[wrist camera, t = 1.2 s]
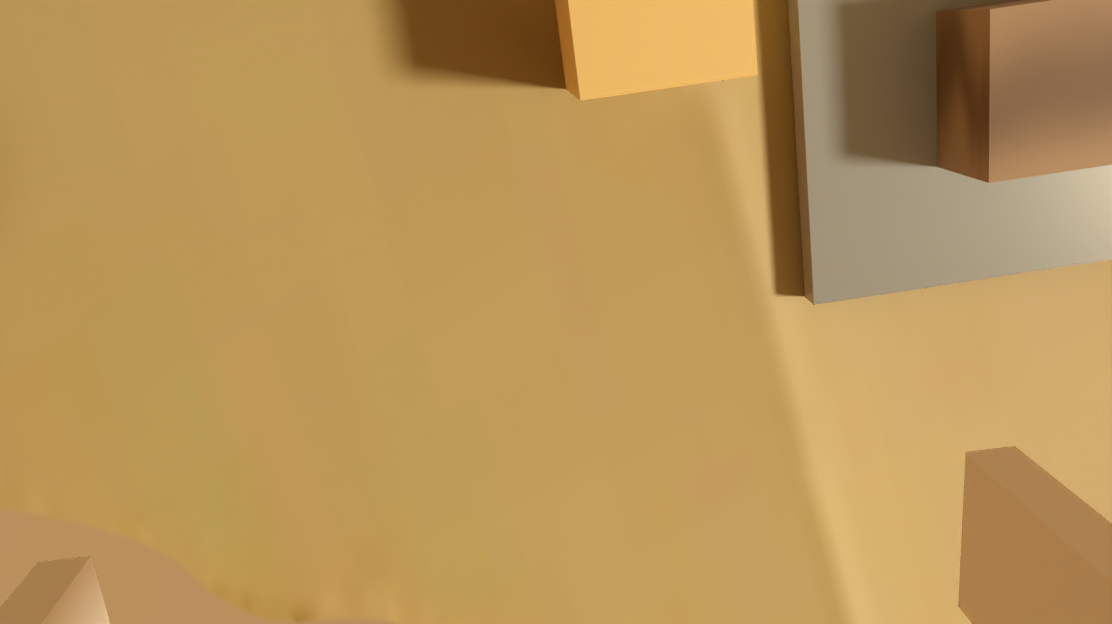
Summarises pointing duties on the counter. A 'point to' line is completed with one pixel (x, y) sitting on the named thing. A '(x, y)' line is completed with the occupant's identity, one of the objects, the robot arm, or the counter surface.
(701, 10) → the ochre brick
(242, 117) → the counter surface
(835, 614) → the counter surface
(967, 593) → the robot arm
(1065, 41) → the brown brick
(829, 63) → the baseplate
